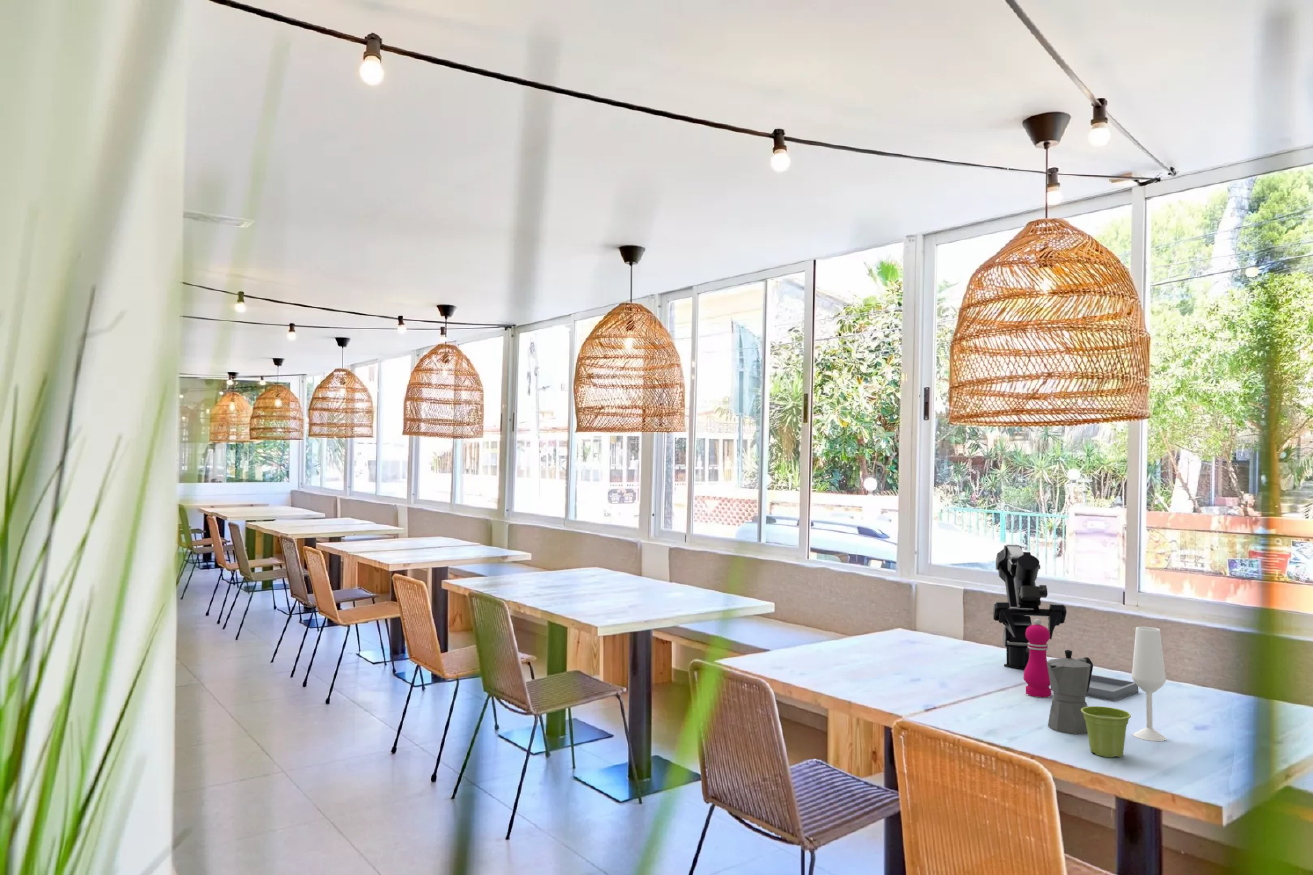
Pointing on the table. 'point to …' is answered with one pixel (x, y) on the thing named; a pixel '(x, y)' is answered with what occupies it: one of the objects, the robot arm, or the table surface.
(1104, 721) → the plant pot
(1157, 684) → the champagne flute
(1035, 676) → the pepper mill
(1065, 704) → the coffeepot
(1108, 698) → the tray
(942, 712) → the table surface
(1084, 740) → the table surface
